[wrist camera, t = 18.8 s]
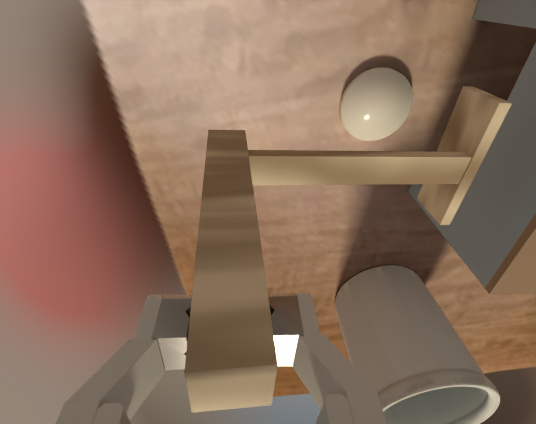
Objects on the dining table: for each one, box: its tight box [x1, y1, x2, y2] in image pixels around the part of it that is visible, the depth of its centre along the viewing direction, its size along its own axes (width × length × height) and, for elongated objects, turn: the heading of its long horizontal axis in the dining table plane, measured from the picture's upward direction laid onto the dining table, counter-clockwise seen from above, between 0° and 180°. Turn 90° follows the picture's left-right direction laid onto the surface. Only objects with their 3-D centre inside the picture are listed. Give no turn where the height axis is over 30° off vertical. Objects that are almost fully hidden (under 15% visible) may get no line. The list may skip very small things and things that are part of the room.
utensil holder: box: [335, 265, 500, 424], centre depth 42 cm, size 15×15×18 cm
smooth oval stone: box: [339, 67, 413, 141], centre depth 32 cm, size 7×7×1 cm
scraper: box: [185, 86, 512, 412], centre depth 16 cm, size 9×18×16 cm, turn 86°
